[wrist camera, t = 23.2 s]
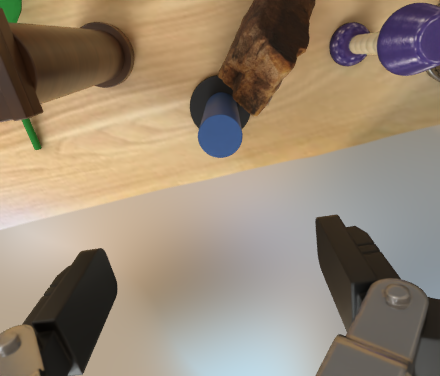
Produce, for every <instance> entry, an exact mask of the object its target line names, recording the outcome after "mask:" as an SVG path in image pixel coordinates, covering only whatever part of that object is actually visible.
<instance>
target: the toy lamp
mask: <svg viewBox="0 0 440 376" xmlns="http://www.w3.org/2000/svg"><path fill="white" fill-rule="evenodd" d="M330 54H331V56H332V58H333V60H334V61H335V62H336V63H338V64H339V65H342V66H352V65H355V64H357V63H359V62H361V61H362V60H363V59H364V58H365V57H366V56H367V54H373V55H377V54H378V58H379V60H380V62H381V64H382V65H383V66H384V67H385V68H386V69H387V70H388V71H390V72H391V73H394V74H397V75H403V76H408V75H414V74H418V73H421V72H424V71H426V70H429V69H432V68H434V67H436V66H439V65H440V7H438V6H436V5H432V4H428V3H413V4H409V5H406V6H404V7H402V8H400V9H399V10H397V11H396V12H394V13H393V14H392V15H391V16H390V17H389V18H388V19H387V21H386V22H385V23H384V24H383V26H382V28H381V30H380V32H375V33H370V32H369V31H368V29H367V28H366V27H365V26H364V25H362V24H359V23H355V22H352V23H347V24H344V25H342V26H341V27H339V28H338V29H337V30H336V32H335V33H334V34H333V36H332V38H331V41H330Z"/></svg>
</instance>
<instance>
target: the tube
mask: <svg viewBox="0 0 440 376" xmlns="http://www.w3.org/2000/svg"><path fill="white" fill-rule="evenodd" d="M198 140H199V144H200V146H201V148H202V149H203V150H204V151H205V152H206V153H207V154H209V155H211V156H213V157H217V158H223V157H228V156H230V155H232V154H233V153H235V152H236V151H237V150H238V148H239V147H240V145H241V142H242V129H241V124H240V118H239V113H238V108H237V103H236V101H235V100H234V99H233V97H232V96H231V95H229V94H227V93H216V94H214V95H212V96H211V97H210V98H209V100H208V101H207V104H206V107H205V111H204V114H203V117H202V121H201V124H200V128H199V131H198Z"/></svg>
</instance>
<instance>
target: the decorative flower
mask: <svg viewBox="0 0 440 376" xmlns="http://www.w3.org/2000/svg"><path fill="white" fill-rule="evenodd" d="M0 8H2V9H3V11H4V13H5V16H6V18H7V21H8V22H11V23H17V21H18V18H19V15H20V13H21V8H22V0H0ZM22 122H23V124H24V127H25V129H26V131H27V133H28V135H29V138H30V140H31V142H32V144H33V147H34V149H35V150H39V149H41V148H42V147H41V145H40V142H39V140H38V138H37V136H36V133H35V131H34V129H33V126H32V124H31V122H30V119H29V118H28V119H23V120H22Z"/></svg>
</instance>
